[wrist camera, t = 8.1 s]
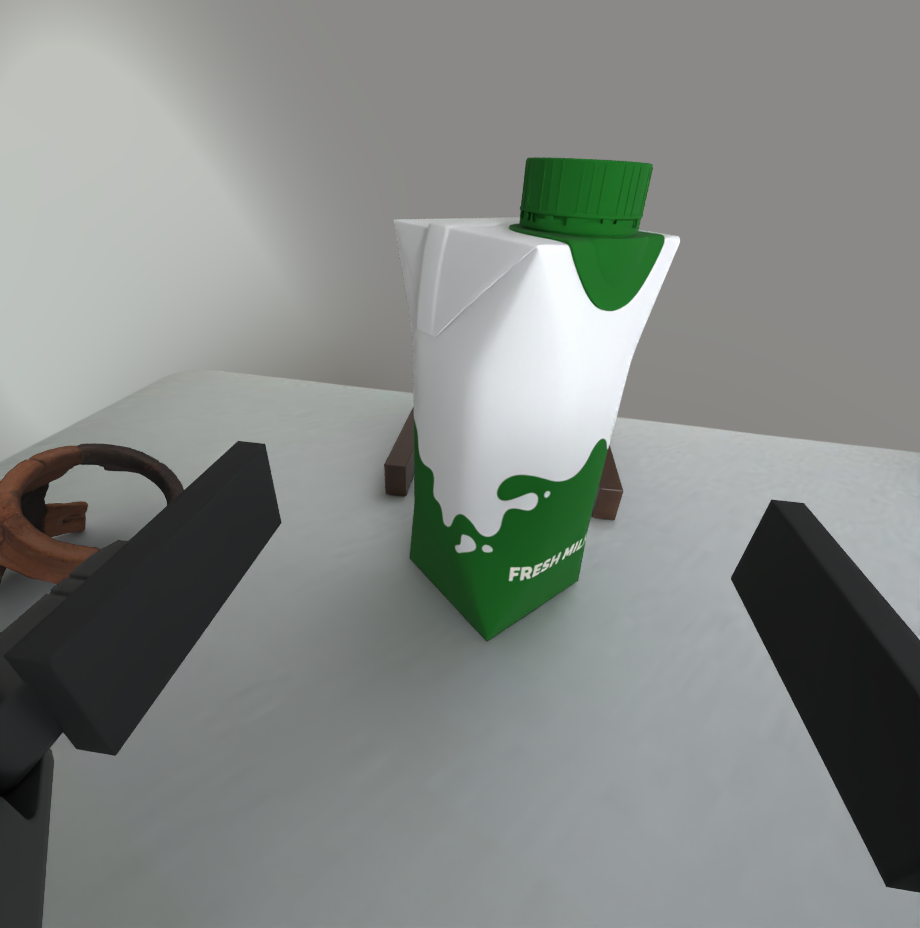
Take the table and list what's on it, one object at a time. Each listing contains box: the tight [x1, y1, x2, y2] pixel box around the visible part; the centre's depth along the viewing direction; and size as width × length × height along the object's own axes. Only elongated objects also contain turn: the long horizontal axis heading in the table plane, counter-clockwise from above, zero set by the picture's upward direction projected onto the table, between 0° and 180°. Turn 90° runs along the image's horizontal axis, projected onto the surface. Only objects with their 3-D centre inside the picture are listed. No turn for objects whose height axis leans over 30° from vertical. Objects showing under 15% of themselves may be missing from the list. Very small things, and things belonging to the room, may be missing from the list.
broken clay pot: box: [0, 444, 184, 584], centre depth 23 cm, size 12×10×8 cm
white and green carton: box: [394, 158, 680, 641], centre depth 21 cm, size 9×9×20 cm
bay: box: [384, 407, 623, 520], centre depth 37 cm, size 16×13×2 cm
